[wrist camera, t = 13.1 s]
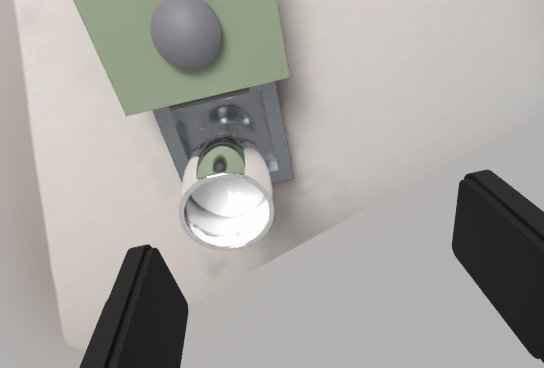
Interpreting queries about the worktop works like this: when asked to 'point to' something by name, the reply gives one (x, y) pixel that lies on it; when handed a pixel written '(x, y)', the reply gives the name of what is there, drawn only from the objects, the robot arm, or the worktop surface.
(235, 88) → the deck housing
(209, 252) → the worktop surface
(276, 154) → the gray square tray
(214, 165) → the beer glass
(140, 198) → the worktop surface
